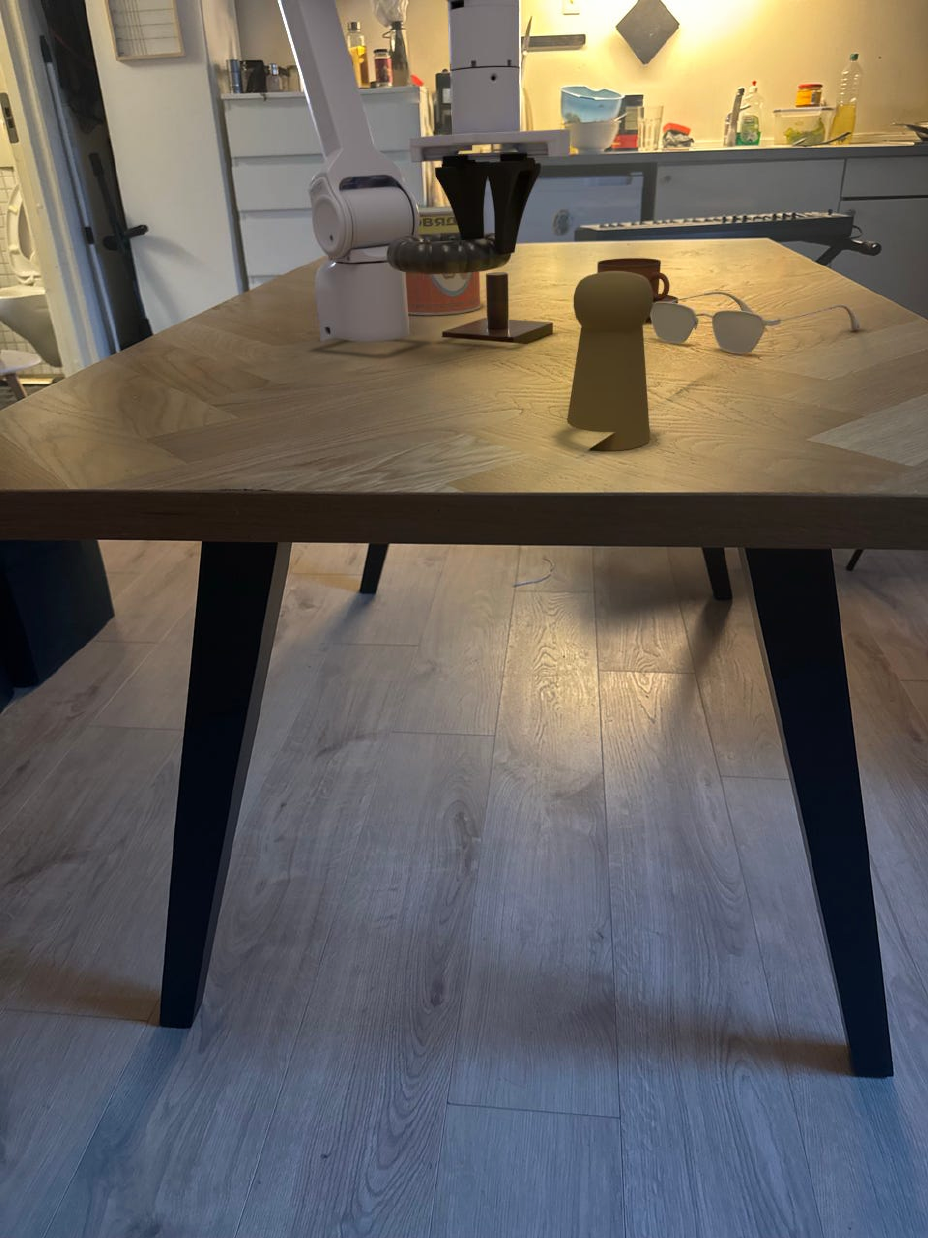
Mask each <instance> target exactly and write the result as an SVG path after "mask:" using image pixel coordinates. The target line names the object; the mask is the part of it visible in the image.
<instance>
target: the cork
mask: <svg viewBox="0 0 928 1238" xmlns="http://www.w3.org/2000/svg"><path fill="white" fill-rule="evenodd" d="M652 306H653V292H652V287H651V285H650V283H649V281H648V279H647V278H645V277H644V276H642V275H639V274H635V273H631V272H625V271H606V272H600V273H597V272H596V273H593V274H588V275H586V276H585V277H583V278H582V279H580V280H579V282H578V283H577V285H576V287H575V290H574V293H573V311H574V316H575V318H576V320H577V321H578V323H579V325H580V332H579V338H578V346H577V351H576V359H575V365H574V370H573V371H574V373H573V377H572V378H573V380H572V384H571V385H572V386H571V391H570V398H569V405H568V412H567V418H566V420H567V421H566V422H567V424H568V425H569V426H571V427H573V428H575V429H577V430H582V431H588V432H594V433H595V432H596V433H612V434H610V435H609V436H607V437H605V438H604V439H602V440H601V441H599V442H597V443H596V444H594V445H593V446H592V447H590V448H589V451H601V452H602V451H604V452H605V451H606V452H607V451H613V452H614V451H625V450H631V449H636V448H640V447H642V446H644V445H646V444H648V443H649V441H650V440H651V431H650V430H651V429H650V417H649V416H650V415H649V402H648V399H649V398H648V386H647V370H646V369H647V368H646V355H645V354H646V353H645V342H644V324H645V323H646V321H647V320H648V319H649V318H648V317H649V316H650V313H651V309H652Z"/></svg>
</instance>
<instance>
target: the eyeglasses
mask: <svg viewBox="0 0 928 1238" xmlns="http://www.w3.org/2000/svg"><path fill="white" fill-rule="evenodd" d="M711 295H723V296H726V297H729V298H731V299H732V300H733V301H734V302H735V303H736V304H737V305H738V306H739V308H740V310H737V309H736V310H735V309H724V310H719V311H716V312H715V313H714V314H713V315H712V314H709V313H705V312H702V313H701V312H700V313H696V311H695V310H694V309H693V307H690V306H688V305H686V304H681V303H678V304H677V303H672V302H674V301H678V302H679V301H682V300H683V301H684V300H687V299H692V298H697V297H702V296H711ZM835 308H843V309H844V310H845V311H846V313H847V314H848V316H849V318H850V328H851V330H852V331H856V330H859V329H860V328H861V326H860V322H859V320H858V318H857V316H856V315H855V313H854V312H853V311H852V309H850V307H848V306H847V305H845V304H842V303H839V304H834V305H831V306H828V307H826V308H823V309H819V310H815V311H812V312H808V313H804V314H800V315H795V316H792V317H787V318H783V319H781V318H774V319H766V318H765V319H764V316H762V315H760V314H758V313H755V312H754V311H753V310H752V308H750V306H748V304H747V303H746V302H744V301H743V300H742V299H740V298H739V297H737V296H735V295H734V294H731V293H729V292H725V291H710V292H705V293H703V294H697V295H693V296H687V297H682V298H678V300H673V301H669V302H655V303H653V306H652V309H651V313H650V318H649V319H650V321H651V324H652V328H653V330H654V333H655V336H656V337H657V339H659V340H660V341H663V342H664V343H670V344H683V343H685V342H686V341H688V339H689V338H690V336H691V335H692V332H693V331H694V330H695V331H696V330H697V329H698V325H699V321H700V319H699V317H702V316H704V317H705V316H706V317H708V318H711V325H712V331H713V335H714V338H715V339H714V340H715V341H716V343H717V345H718V347H719V349H721V350H722V351H725V352H727V353H731V354H736V355H744V354H745V355H746V354H749V353H751V352H753V351H754V349H755V348H756V347H757V345H758V344H759V342H760V341H761V338H762V336H763V334H764V333H765V330H766V326H767V327H774V326H778V325H781V322H784V321H789V320H792V319H796V318H800V317H805V316H810V315H813V314H816V313H819V312H823V311H827V310H832V309H835Z"/></svg>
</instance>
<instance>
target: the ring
mask: <svg viewBox="0 0 928 1238" xmlns="http://www.w3.org/2000/svg"><path fill="white" fill-rule="evenodd" d="M511 257H512V253H510V254H506V255H497V252H496V248H495V232H489V231H484V238H482V239H472V240H461V236H460V232H446V233H430V234H419V235H411V236H405V237H400V238H397V239H396V240H395V241H393V242H392V243H391V244H390V245H389V247H388V249H387V260H388V263H389V264H390V266H391V267H393V268H394V269H396V270H398V271H403V272H407V273H415V274H458V273H469V272H479V273H480V272H486V271H490V270H494V269H498V268H502V267H504V266H506V265H507V264H508V262H509V261H510V260H511Z"/></svg>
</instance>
